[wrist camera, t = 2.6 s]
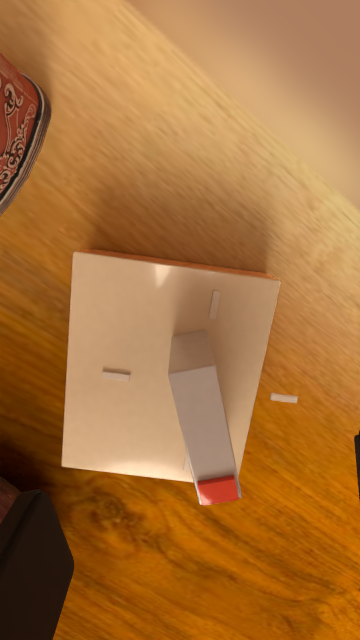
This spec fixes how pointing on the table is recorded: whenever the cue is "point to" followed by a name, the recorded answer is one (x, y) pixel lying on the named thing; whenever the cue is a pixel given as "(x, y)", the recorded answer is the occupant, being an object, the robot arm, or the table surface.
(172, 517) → the table surface
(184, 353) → the grey red-tipped block
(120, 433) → the switch base
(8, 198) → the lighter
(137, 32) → the table surface
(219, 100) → the table surface
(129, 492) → the table surface
